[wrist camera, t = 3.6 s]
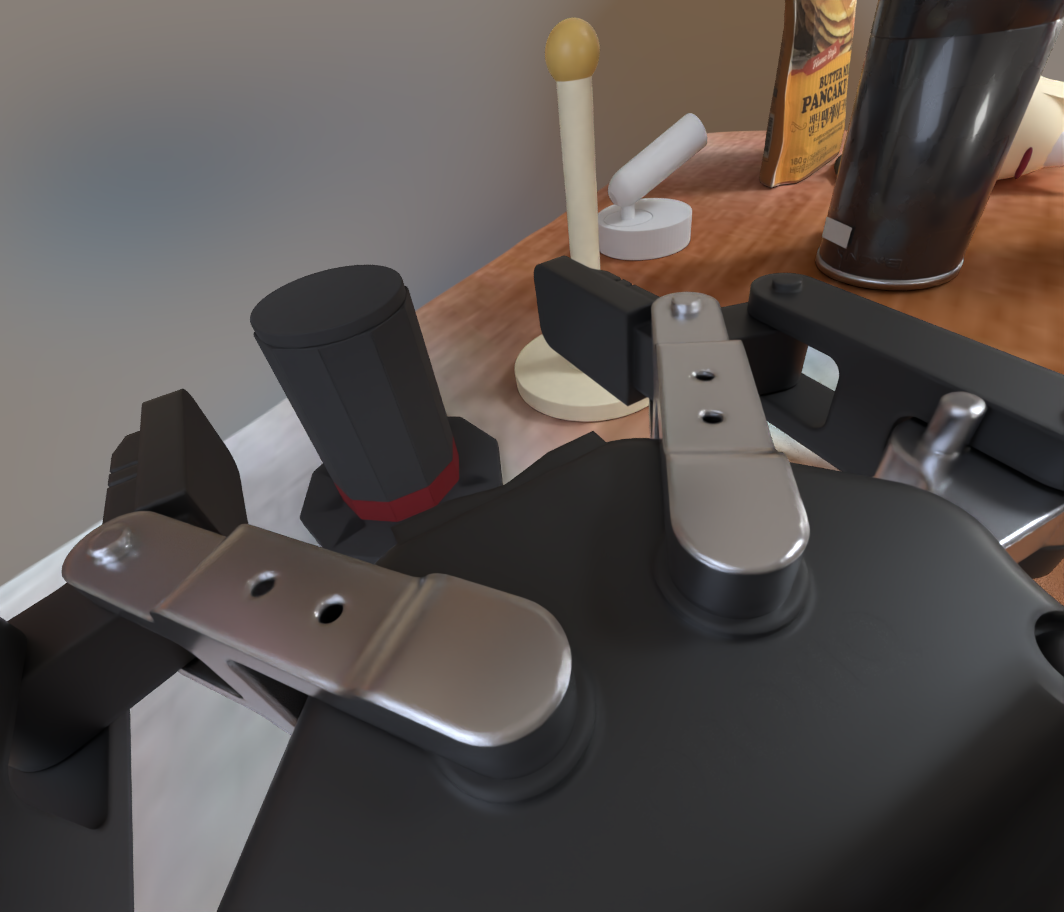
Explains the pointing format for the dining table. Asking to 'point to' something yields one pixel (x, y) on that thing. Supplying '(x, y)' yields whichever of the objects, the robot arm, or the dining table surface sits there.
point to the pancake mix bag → (809, 90)
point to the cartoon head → (1038, 133)
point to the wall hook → (650, 221)
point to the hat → (368, 407)
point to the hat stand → (572, 231)
